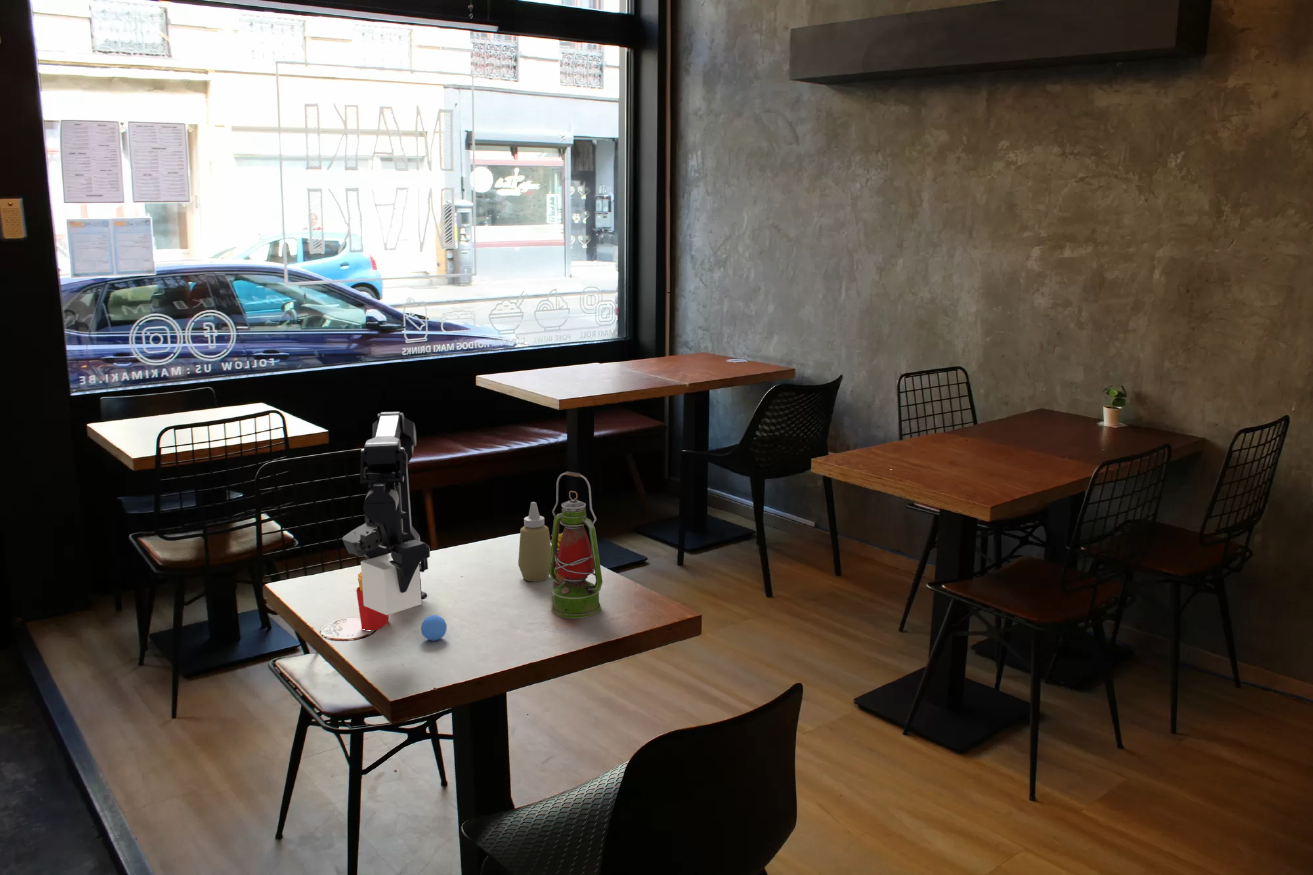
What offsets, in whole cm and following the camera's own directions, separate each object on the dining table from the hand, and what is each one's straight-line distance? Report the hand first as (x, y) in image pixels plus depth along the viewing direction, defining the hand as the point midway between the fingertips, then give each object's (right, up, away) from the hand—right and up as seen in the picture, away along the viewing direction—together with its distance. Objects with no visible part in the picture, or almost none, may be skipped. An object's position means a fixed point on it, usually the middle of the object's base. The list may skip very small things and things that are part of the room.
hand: (391, 587), depth 201 cm
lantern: (+33, -8, +25) cm, 42 cm away
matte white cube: (0, -3, +1) cm, 4 cm away
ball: (+6, -9, +9) cm, 14 cm away
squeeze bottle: (+23, -4, +44) cm, 49 cm away
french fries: (-7, -10, +17) cm, 21 cm away
